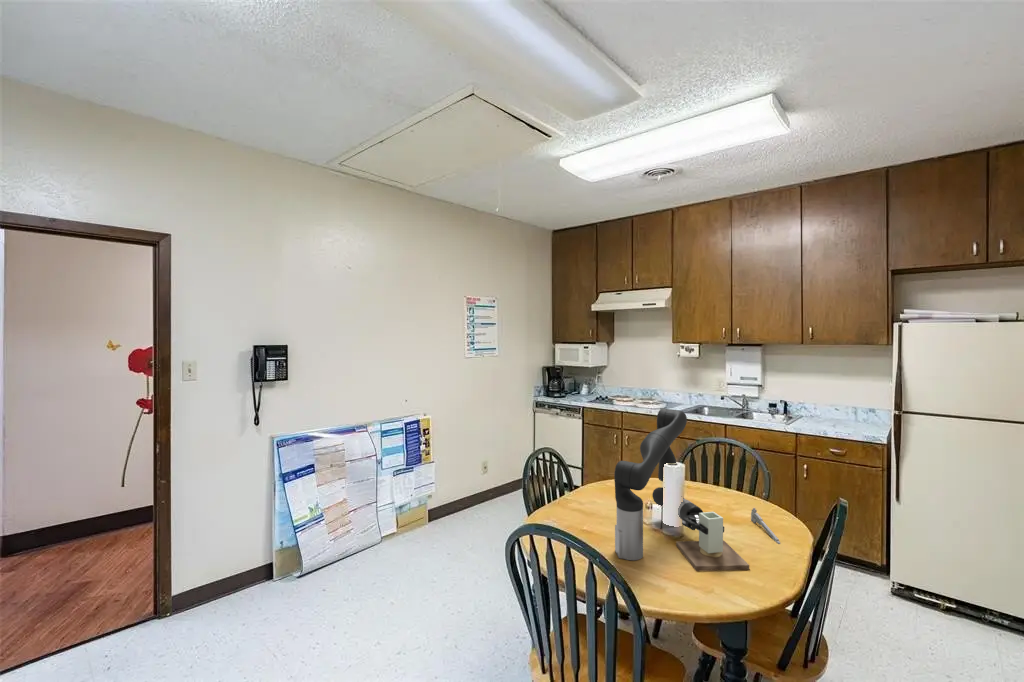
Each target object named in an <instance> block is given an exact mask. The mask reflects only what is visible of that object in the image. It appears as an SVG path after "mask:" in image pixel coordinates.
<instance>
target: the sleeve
mask: <svg viewBox="0 0 1024 682" xmlns="http://www.w3.org/2000/svg"><path fill="white" fill-rule="evenodd" d="M699 522H700V523H701V524H702V525H704V526H705V527H707V528H708V534H707V535H706V534H704V533H703V532H701V531H698V541H699V546H700V547H701V548H702V549H703V550H705V551H706V552H707V553H716V552H723V540H724V533H723V526H724V517H723V516H721V515H719V514H718V513H716V512H715V511H706V512H704V511H703V513H699Z"/></svg>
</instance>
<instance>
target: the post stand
mask: <svg viewBox="0 0 1024 682" xmlns="http://www.w3.org/2000/svg"><path fill="white" fill-rule="evenodd" d="M675 546H676V547H677V548H678V549H679V551H680V552H681V554H682V555H683V556H684V557H685V559H686V560H687V561H688V563H689V564H690V566H692V567H693V569H694V570H695V571H696V572H697V571H698V572H700V571H701V572H702V571H737V570H738V571H744V570H747V571H748V570H750V564H749V563H748V562H747V561H746V560H745V559H744V558H743V557H742V556H741V555H740V554H739V553H737V551H736V550H735V549H733V548H732V547H731V545H730V544H728V543H727V542H726V541H725V540H724V539H723V552H716V553H707V552H706V551H705V550H703V549H702V548H701V547H700V546H699V540H684V541H681V540H680V541H677V540H676V541H675Z"/></svg>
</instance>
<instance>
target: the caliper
mask: <svg viewBox="0 0 1024 682" xmlns="http://www.w3.org/2000/svg"><path fill="white" fill-rule="evenodd" d="M757 511H758V510H757V509H756V507H752V509H751V512H750V521H751V522H752V523H753V524H758V525H760V526H761V528H763V529H764V531H765V532H766V533H767V534H768V536H770V537H771V539H772V540H773V541H774V542H776V544H778V545H781V542H780V539H779V537H777V535H776V534H775V533H774V532H773V531H772V529H771V528H770V527H769V526H768V525H767V524H766V522H764V520H763V518H762V516H760V514H759V513H758V512H757Z"/></svg>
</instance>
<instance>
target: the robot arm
mask: <svg viewBox="0 0 1024 682" xmlns="http://www.w3.org/2000/svg"><path fill="white" fill-rule="evenodd" d="M687 421H688V418H687V414H686V413H685V412H684V411H683V410H679V409H670V408H660V410H658V412H657V414H656V429H655V430H652V431H650V432H649V433H647V435H646V436H645V438H643V440H642V441H641V443H640V446H639V450H640V455H641V457H642V462H640V463H639V462H633V461H627V460H619V461H618V462H617V463H616V466H615V468H614V473H613V474H614V490H615V491H614V492H615V493H614V495H615V498H614V499H615V502H616V524H615V525H614V552H615V553H616V555H617V557H618V559H623V560H626V561H638V560H640V559H643V557H644V501H643V499H642V498H641V497H640V496H638V495H637V494H635V493H634V492H633V490H634V491H642V490H644V489H645V488H646V486H647V484H648V483H649V480H650V478H651V477H652V475H653V472H654V470H655V469H656V468H657V466H658V470H657V471H658V473H657V476H658V477H657V478H658V480H659V481H661V482H663V467H664V464H666V463H676V464H677V459H676V456H675V454H674V452H673V450H672V448H671V445H672V443H673V442H674V441H675V440H676V439H677V438H678V437H679V435H681V434H682V433H683V431H684V430H685V429H686V425H687ZM663 483H664V482H663ZM663 487H664V486H662V487H660V486H659V487H656V488H655V489H654V490H653V491H652V494H651V495H652V500H653V501H654V503H655V504H656V505H657V504H658V506H659V505H661V506H662V505H663ZM661 506H660V507H661ZM703 512H704V511H703V509H702V508H701V507H699V506H697V505H696V504H695V503H694V502H692V501H690V500H688V499H686V498H684V497H683V502H681V504H680V506H679V508H678V515H679V517H680V518H679V517H678V518H679V519H681V525H682V526H684V527H686V528H688V529H690V530H691V531H696V530H697V531H698V532H699V531H701V532H703V533H704V534H706V535H707V534H708V528H707V527H705V526H704V525H702V524H701V523H700V522H699V513H703ZM724 533H725V526H724V525H723V534H724Z"/></svg>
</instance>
